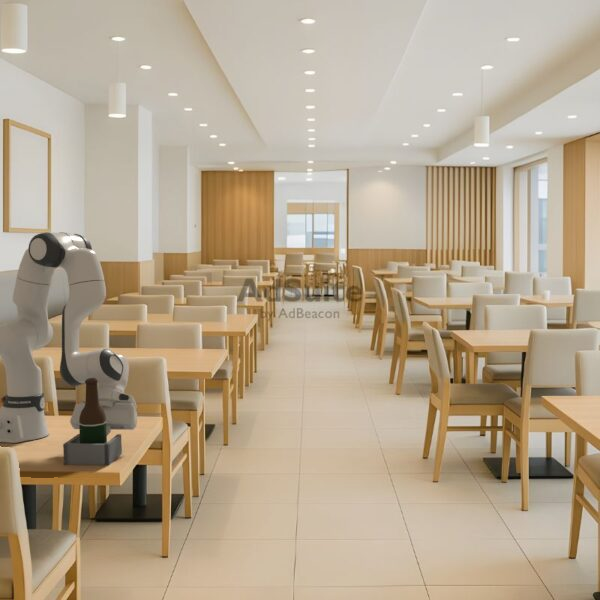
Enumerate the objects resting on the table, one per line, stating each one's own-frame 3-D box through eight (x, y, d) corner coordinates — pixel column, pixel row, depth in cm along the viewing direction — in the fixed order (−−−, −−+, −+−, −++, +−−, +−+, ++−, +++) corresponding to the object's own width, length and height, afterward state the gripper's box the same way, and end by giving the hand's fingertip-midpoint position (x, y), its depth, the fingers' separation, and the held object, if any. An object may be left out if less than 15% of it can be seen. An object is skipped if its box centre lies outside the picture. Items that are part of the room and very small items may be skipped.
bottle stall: (63, 464, 232) (63, 444, 231) (79, 453, 244) (78, 433, 243) (108, 465, 230) (108, 444, 230) (121, 453, 243) (121, 434, 242)
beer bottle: (81, 462, 233) (78, 381, 231) (79, 456, 240) (77, 377, 238) (108, 460, 235) (105, 380, 234) (106, 453, 243) (103, 375, 241)
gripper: (73, 396, 249) (62, 434, 240) (137, 396, 247) (129, 435, 239) (79, 407, 254) (68, 445, 245) (141, 407, 252) (133, 445, 243)
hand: (99, 440), depth 242 cm, fingers closed, pressing on beer bottle
